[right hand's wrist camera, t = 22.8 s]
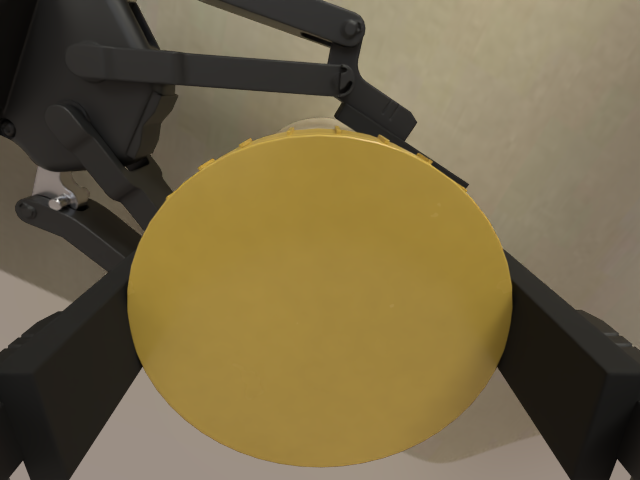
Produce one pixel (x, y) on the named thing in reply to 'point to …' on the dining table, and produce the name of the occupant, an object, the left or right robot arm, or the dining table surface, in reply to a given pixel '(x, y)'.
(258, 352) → the lid
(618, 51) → the dining table surface
